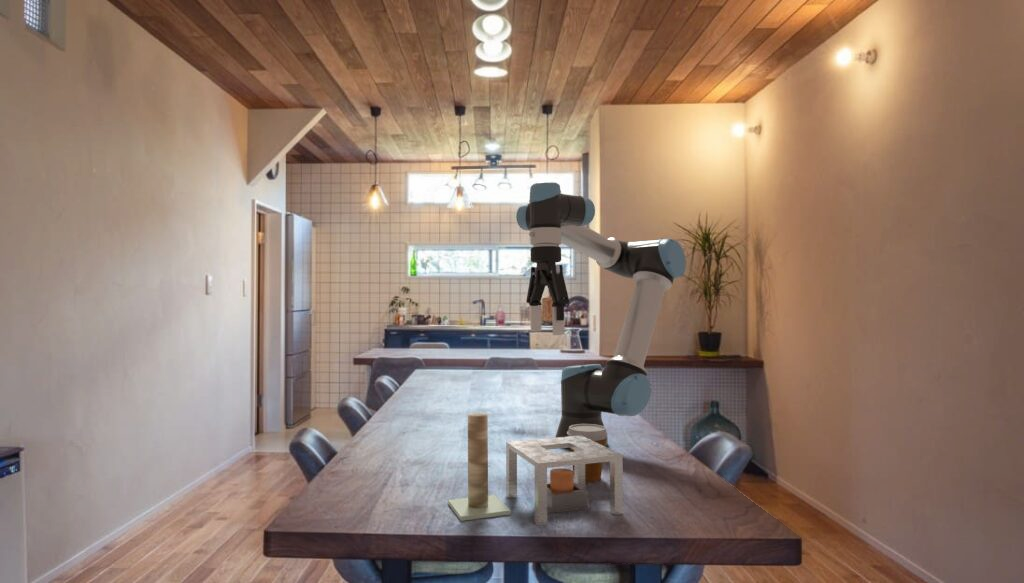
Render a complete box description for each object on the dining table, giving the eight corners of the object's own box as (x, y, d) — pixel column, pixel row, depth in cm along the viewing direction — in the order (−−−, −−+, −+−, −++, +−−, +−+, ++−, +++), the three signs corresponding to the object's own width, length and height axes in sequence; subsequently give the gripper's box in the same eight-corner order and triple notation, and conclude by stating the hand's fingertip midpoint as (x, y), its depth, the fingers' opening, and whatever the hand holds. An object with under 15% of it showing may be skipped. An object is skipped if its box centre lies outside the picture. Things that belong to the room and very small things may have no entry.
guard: (581, 486, 134) (581, 435, 134) (622, 513, 117) (622, 454, 117) (506, 495, 128) (506, 441, 128) (538, 525, 111) (538, 463, 111)
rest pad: (494, 498, 126) (494, 494, 126) (510, 514, 117) (510, 510, 117) (448, 503, 123) (448, 500, 123) (460, 520, 113) (460, 516, 113)
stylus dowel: (484, 500, 122) (484, 412, 122) (490, 506, 118) (490, 416, 119) (465, 503, 121) (465, 414, 121) (471, 509, 117) (470, 417, 117)
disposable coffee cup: (610, 475, 143) (610, 424, 143) (603, 486, 134) (603, 433, 134) (572, 471, 146) (572, 422, 146) (562, 482, 137) (562, 430, 137)
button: (567, 496, 126) (567, 467, 126) (577, 503, 121) (577, 473, 121) (546, 498, 124) (546, 469, 124) (556, 506, 120) (556, 476, 120)
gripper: (513, 249, 156) (514, 330, 156) (552, 241, 133) (554, 336, 133) (539, 250, 159) (540, 329, 159) (582, 242, 136) (584, 335, 136)
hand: (546, 333), depth 146 cm, fingers open, 13 cm apart
